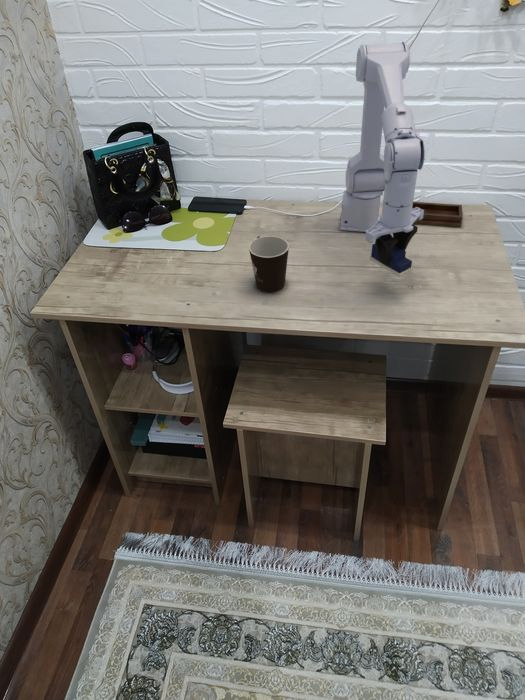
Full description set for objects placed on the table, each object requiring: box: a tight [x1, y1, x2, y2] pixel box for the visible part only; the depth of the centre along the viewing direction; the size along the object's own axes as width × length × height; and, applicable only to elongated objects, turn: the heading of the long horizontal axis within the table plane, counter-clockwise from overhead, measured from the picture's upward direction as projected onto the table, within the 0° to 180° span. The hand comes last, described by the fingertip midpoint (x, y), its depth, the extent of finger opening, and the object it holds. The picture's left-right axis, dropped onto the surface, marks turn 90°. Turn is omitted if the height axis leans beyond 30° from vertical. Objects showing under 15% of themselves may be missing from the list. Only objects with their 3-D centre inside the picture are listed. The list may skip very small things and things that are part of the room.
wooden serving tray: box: [412, 201, 463, 229], centre depth 147 cm, size 16×8×2 cm, turn 77°
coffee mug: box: [248, 235, 290, 294], centre depth 127 cm, size 12×9×10 cm
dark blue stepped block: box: [369, 243, 413, 278], centre depth 120 cm, size 9×4×4 cm, turn 37°
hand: (390, 259), depth 120 cm, fingers closed on dark blue stepped block, 3 cm apart
